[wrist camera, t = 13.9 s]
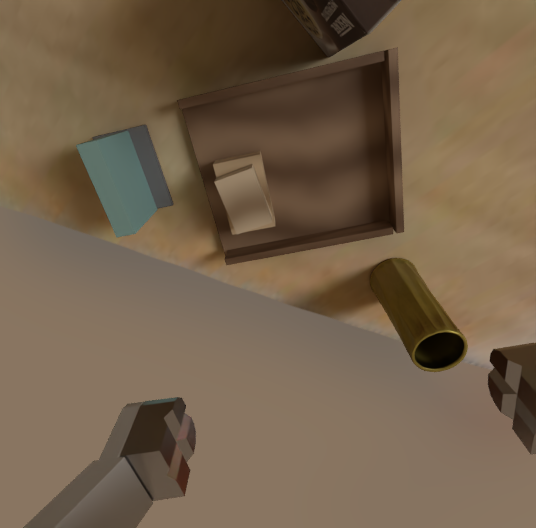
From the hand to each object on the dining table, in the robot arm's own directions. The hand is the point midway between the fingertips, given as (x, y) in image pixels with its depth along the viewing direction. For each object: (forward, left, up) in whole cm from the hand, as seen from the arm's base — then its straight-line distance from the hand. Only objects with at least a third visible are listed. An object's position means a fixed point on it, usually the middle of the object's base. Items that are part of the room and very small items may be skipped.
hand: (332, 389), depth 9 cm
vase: (+18, +11, -33) cm, 39 cm away
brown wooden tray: (+1, +1, -33) cm, 33 cm away
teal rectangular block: (-2, -17, -33) cm, 37 cm away
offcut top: (+2, -5, -30) cm, 30 cm away
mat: (-2, -17, -33) cm, 37 cm away
